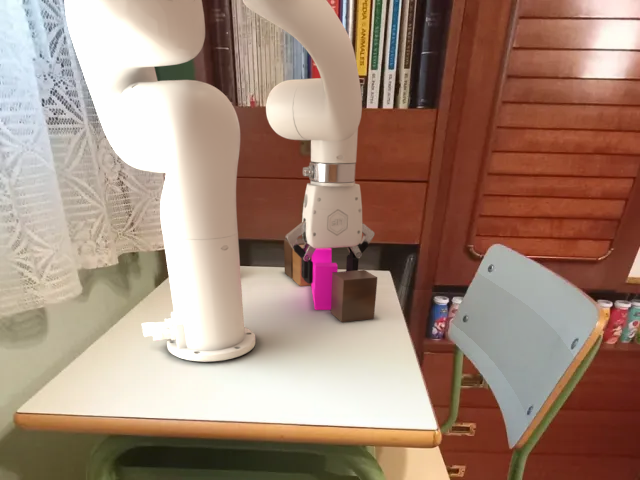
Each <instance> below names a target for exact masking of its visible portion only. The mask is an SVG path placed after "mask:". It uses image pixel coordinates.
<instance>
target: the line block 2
mask: <svg viewBox="0 0 640 480" xmlns="http://www.w3.org/2000/svg"><path fill="white" fill-rule="evenodd" d="M377 285H378V276H375V275H374V274H372V273H370V272H369V271H367V270H366V269H358V270H357V271H346V270H344V271H343V270H342V271H337V272H332V295H331V310H330V313H331V315H333V316H334V317H335V318H336V319H337V320H338V321H340V323H347V322H357V321H366V320H375V310H376V309H375V308H376V301H377V300H376V299H377V298H376V297H377Z"/></svg>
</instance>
